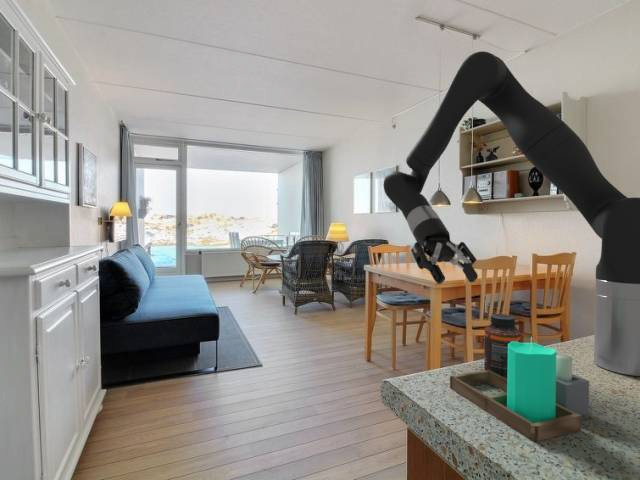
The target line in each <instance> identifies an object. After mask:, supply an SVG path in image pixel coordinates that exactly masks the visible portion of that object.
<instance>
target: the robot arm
mask: <svg viewBox="0 0 640 480" xmlns="http://www.w3.org/2000/svg"><path fill="white" fill-rule="evenodd" d="M454 74H455V75H454V76H453V78H452V80H451V83H450V84H449V87H448V89H447V92H446V93H445V95H444V97H443V99H442V101H441V103H440V104H439V106H438V108H437V110H436V112H435V114H434V116H433V117H432V118H431V121H430V122H429V124H428V125H427V127H426V128H425V129H424V131H423V133H422V134H421V136H420V137H419V139H418V140H417V142H416V143H415V145H414V146H413V147H412V149H411V151H410V152H409V153H408V155H407V157H406V159H405V164H407V165H406V166H408V168H410V169H411V172H410V173H409V174H408V173H406V172H403V171H397V170H396V171H395V170H393V171H390V172H389V173H388V174H387V175H386V176H385V177H384V180H383V190H384V193H385V195H386V196H387V198H388V199H389V200H390V202H392V203H393V205H394V206H395V207H396V208H397V209H399V210H400V211H401V213H402V215H403V217H404V218H405V220H406V223H407V225H408V227H409V230H410V232H411V234H412V235H413V237H414V239H415V241H416V242H415V243H414V244H413V247H412V248H411V249H410V250H411V251H410V252H411V254H412V256H413V258H414V260H415V262H416V265H417V267H418V268H419V269H420V270H424V269H426V271H428V272H429V273H430V275H431V276H432V278H433V280H434V281H435V282H436V284H437V285H441V284H443V282H444V281H445V280H446V277H445V275H444V272H443V271H442V270H441V268H440V266H439V264H437V263H442V262H446V263H450V264H451V265H453V266H457V267H459V268H460V269H462V272H463V273H464V275H465V276H466V277H465V278H467V280H468V281H469V283H475V282H476V280H477V279H478V278H479V275H478V273H477V272H476V270H475V268H474V267H473V265H474V264H475V263H476V262H477V258H476V256H474V253H472V251H471V250H470V248H469V247H468V246H467V245H466V243H465V242H464V241H461V242H459V243H458V244H455V243H454V242H453V241H452V240H451V236H450V232H449V230H448V228H447V227H446V226H445V224H444V223H443V221H442V219H441V218H440V216H439V215H438V214H437V212H436V211H435V209H433V207H432V206H431V204H430V203H429V201H428V200H427V198H426V197H425V195H423V194H422V191H423V190H424V187H425V184H426V182H427V179H428V177H429V174H430V172H431V170H432V169H433V168H434V166H435V164H436V163H437V162H438V160H439V159H440V158H441V157H442V155H443V154H444V152H445V151H446V149H447V148H448V146H449V144H450V142H451V140H452V138H453V135H454V133H455V131H456V129H457V128H458V126H459V124H460V122H461V121H462V119H463V118H464V116H466V114H467V112H468V111H469V110H470V109H471V108H472V106H474V105H475V103H477V102H478V101H479V102H480V103H481V104H482V105H484V106H485V107H486V108H488V109H489V111H491V113H493V114H494V115H495V116H496V117H497V118H498V119H499V120H500V121H501V123H502V124H503V126H504V128H505V129H506V131H507V133H508V135H509V136H510V138H511V140H512V141H513V143H514V145H515V146H516V147H517V148H518V150H519V152H520V153H521V154H522V155H524V157H525V158H526V159H527V160H528V161H529V162H530V163H531V164H532V165H533V167H535V169H537V171H539V173H541V175H543V176H544V177H545V178H546V179H547V180H548V181H549V182H550V184H551V183H552V185H554V187H556V188H557V189H558V190H559V191H560V192H562V194H564V195H565V197H567V199H569V200H570V202H571V203H573V205H574V206H575V208H576V209H577V210H578V211H579V213H580V214H581V215H582V217H583V218H584V219H585V221H586V222H587V223H588V224H589V227H590V228H591V229H592V230H593V232H594V233H595V234H596V235H597V237H599V238H600V239H601V251H600V252H601V253H600V257H599V262H598V263H597V265H596V266H595V267H596V268H595V285H594V286H595V287H594V292H595V293H594V294H595V295H594V297H595V299H594V336H593V337H594V338H593V339H594V340H593V341H594V342H593V344H594V345H593V362H594V363H595V364H596V365H597V366H598V367H600V368H603V369H606V370H608V371H611V372H614V373H617V374H622V375H626V376H627V375H628V376H636V377H640V197H637V196H636V197H628V196H626V195H625V194H623V193H622V192H621V191H620V190H619V189H617V188H616V187H615V186H614V185H613V184H612V183H611V182H610V181H608V179H607V178H606V177H605V176H604V175H603V173H602V172H601V171H600V169H599V167H598V165H597V164H596V162H595V160H594V158H593V156H592V154H591V152H590V151H589V149H588V147H587V145H586V144H585V143H584V141H583V140H582V139H581V137H580V136H579V135H578V134H577V133H576V132H575V131H574V130H573V129H572V128H570V126H569V125H568V124H567V123H565V122H564V120H563V119H561V117H559V116H558V115H557V114H556V113H554V111H552V110H551V109H550V108H548V107H547V106H545V105H544V104H543V103H542V102H541V101H539V100H537V98H535V97H534V96H532V95H531V94H530V93H529V92H528V91H527V90H526V88H524V86H522V84H521V83H520V81H518V79H517V78H516V77H515V75H514V74H513V73H512V71H511V70H510V69H509V67H508V66H507V65H506V63H505V62H504V60H503V59H501V58H500V57H499V56H497V55H495V54H494V53H491V52H489V51H476V52H474V53H471V54H469V55H468V56H467V57H466V58H465V59H464V60H463V61H462V62H461V64H460V65H459V67H458V69H457V70H456V73H454ZM455 255H456V256H457V257H456V258H454V257H455ZM460 260H461V261H462V262H461V261H460Z"/></svg>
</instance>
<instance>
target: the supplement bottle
mask: <svg viewBox="0 0 640 480" xmlns="http://www.w3.org/2000/svg"><path fill="white" fill-rule="evenodd" d="M489 321H490V324H488V325H487V326H486V327H485V328H484V349H483V350H484V353H483V355H484V364H483V365H484V366H483V367H484V368H483V369H484V371H485V370H490V371H492V372H494V373H496V374H498V375H500V376H502V377H504V378H506V379H507V374H508V344H509V343H511V342H513V341H515V342H520V343H522V334H521V331H520V330H519V328H517V327H516V317H515V316H513V315H509V314H503V313H502V314H501V313H493V314H491V315H490V320H489Z"/></svg>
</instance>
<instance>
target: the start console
mask: <svg viewBox="0 0 640 480" xmlns="http://www.w3.org/2000/svg"><path fill="white" fill-rule="evenodd" d="M556 403H557V404H559V405H561V406H563V407H565V408H567V409H569V410H571V411H573V412H575V413H577V414H579V415H581V417H583V416H587V415H589V414H590V413H589V411H590V409H589V407H590V406H589V405H590V380H588V379H586V378H583V377H580V376H578V375H576V374H573V373H572V381H569V382H563V381H561V380H559V379H556Z"/></svg>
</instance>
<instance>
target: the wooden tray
mask: <svg viewBox="0 0 640 480" xmlns="http://www.w3.org/2000/svg"><path fill="white" fill-rule="evenodd" d="M488 383H489V384H491V385H492V386H495V388H498V389H500V390H502V391H503V392H504V393H497V394H492V395H486V394H485V393H483V392H482V391H480V390H478V389H476V388H474V387H473V386H477V385H484V384H488ZM449 389H452V390H453V391H454V392H456V393H458V395H459V394H460V395H461V396H462V397H464V398H465V399H467V400H468V401H470V402H472V403H473V404H475V405H476V406H478V407H479V408H481V409H483V410H484V411H486V412H487V413H489V414H490V415H492V416H493V417H495V418H496V419H497V420H500V421H501V422H503V423H504V424H506V425H507V426H509V427H511V429H512V428H513V429H514V430H515V431H517V432H518V433H520V434H522V435H523V436H524V437H526V438H528V439H529V440H531V441H533V442H534V443H535V442H540V441H543V440H547V439H552V438H555V437H560V436H563V435H567V434H570V433H571V434H572V433H574V432H578V431H581V430H582V416H581V415H579V414H577V413H575V412H573V411H571V410H569V409H567V408H565V407H563V406H561V405H559V404H557V403H556V409H555V419H551V420H547V421H542V422H538V423H532V422H531V421H529V420H527V419H526V418H524V417H522V416H521V415H519V414H517V413H515V412H514V411H512V410H510V409H509V408H507V379H506V378H504V377H502V376H500V375H498V374H496V373H494V372H492V371H490V370H485V369H484V370H480V371H473V372H468V373H467V372H466V373H461V374H456V375H449Z"/></svg>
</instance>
